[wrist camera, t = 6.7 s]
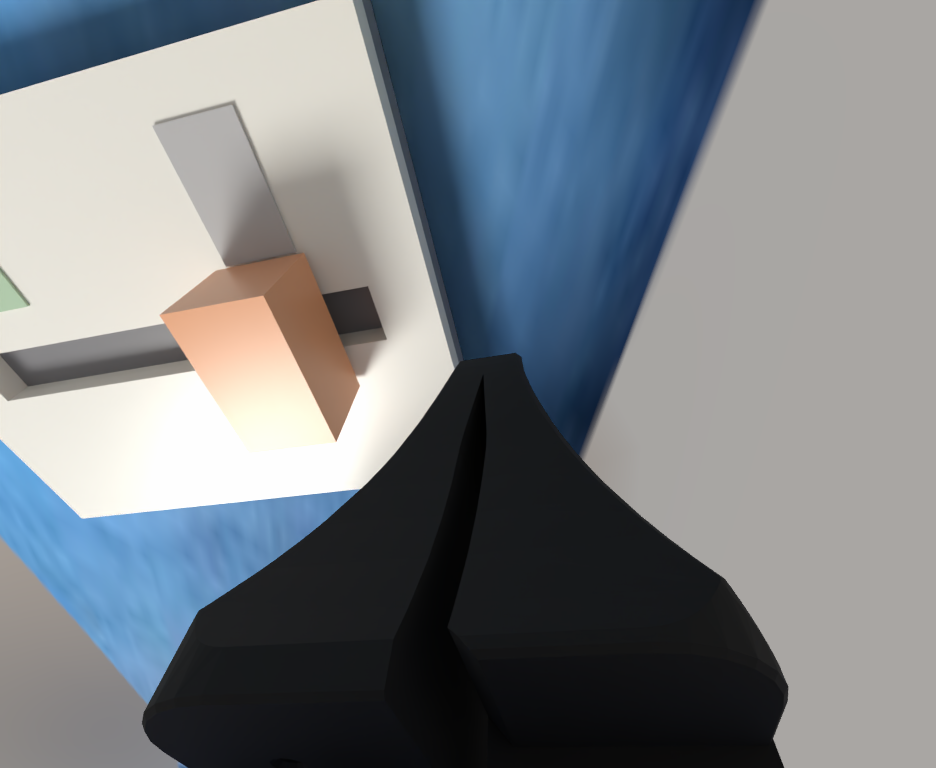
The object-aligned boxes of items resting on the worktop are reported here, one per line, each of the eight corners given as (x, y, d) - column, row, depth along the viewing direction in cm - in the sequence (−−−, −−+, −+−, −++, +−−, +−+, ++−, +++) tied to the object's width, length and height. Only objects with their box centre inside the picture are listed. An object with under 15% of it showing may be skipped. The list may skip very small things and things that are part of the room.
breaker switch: (366, 370, 18) (336, 442, 15) (293, 381, 18) (249, 453, 15) (314, 241, 15) (263, 295, 12) (230, 258, 16) (159, 314, 12)
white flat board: (485, 442, 21) (483, 477, 20) (109, 487, 25) (80, 520, 23) (369, -3, 12) (348, -10, 11) (-193, 162, 16) (-276, 176, 14)
